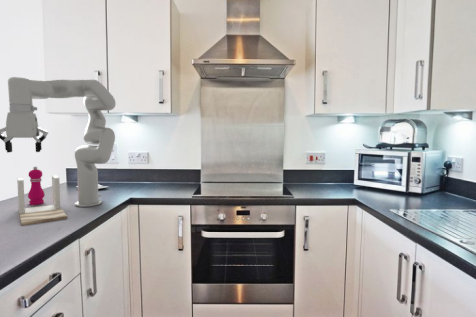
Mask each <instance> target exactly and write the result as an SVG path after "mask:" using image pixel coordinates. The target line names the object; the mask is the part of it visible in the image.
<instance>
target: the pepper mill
mask: <svg viewBox="0 0 476 317" xmlns="http://www.w3.org/2000/svg"><path fill="white" fill-rule="evenodd" d="M28 178H30V179H29V182H30V184H31V186H30V189H29V192H28V194H27V198H28V199H29V201H28V202H29V203H28V204H29V205H30V206H38V205H42V204H44V202H45V200H44V197H45V190H44V189H43V187H42V185H41V182H42V178H43V172H42V170H40V169H38V167H37V166H33V168H32V169H31V170H30V171H29V172H28Z"/></svg>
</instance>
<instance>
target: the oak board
mask: <svg viewBox="0 0 476 317" xmlns="http://www.w3.org/2000/svg"><path fill="white" fill-rule="evenodd" d="M19 219H20V224H21V226H26V225H32V224H33V225H34V224H40V223H45V222H46V223H47V222H53V221H58V220H59V221H60V220H66V219H68V215H67V214H66V213H65V211H64V210H63V209H62V208H60V209H53V210H45V211H37V212H30V213H22V214H20V215H19Z"/></svg>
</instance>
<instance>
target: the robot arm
mask: <svg viewBox="0 0 476 317" xmlns="http://www.w3.org/2000/svg"><path fill="white" fill-rule="evenodd" d="M7 91H8V105H9V106H8V109H9V111H8V112H7V115H6V120H5V121H6V122H5V127H2V128H0V139H1V141H3V142H4V146H5V147H4V149H5V151H6V153H12V152H13V143H12V140H13V139H15V138H16V139H19V138H20V139H21V138H25V139H26V138H27V139H29V138H31V139H32V138H33V140H35V152H36V153H40V152H41V151H42V149H43V148H42V143H43V141H44V140H45V139H46V138H47V136H48V135H49V131H47V130H45V129H42V128H41V127H39V121H38V116H37V114H36V113H35V111H38V107H37V106H34V102H33V100H46V99H47V100H48V99H72V98H83V105H84V107H85V109H86V111H87V114H88V120H87V121H88V123H87V125H86V127H85V130H84V135H83V141H84V142H85V143H86V144H87V145H81V146H78V147H77V148H76V149H75V151H74V158H75V163H76V167H77V168H76V171H77V199H78V200H77V201H76V202H74V206H75V207H80V208H81V207H82V208H85V207H96V206H98V205H101V204H102V200H100V199H99V198H101V197H102V194H101V193H99V177H98V176H99V172H98V168H97V166H96V165H104V164H105V165H106V164H107V163H108V162H109V160H110V158H111V156H112V152H113V148H114V146H115V141H116V134H115V131H114V130H113V129H112V128H110V127H108V126H107V127H106V124H107V120H106V116H104V114H103V112H102V111H112V110H114V109H115V107H116V104H117V103H116V100H115V97H114V95H112V93H111V92H110V91H109V90H108V89H107V87H105V85H103V84H102V83H101V82H100V81H99V80H96V79H54V80H52V79H51V80H35V79H29V78H25V77H19V76H18V77H17V76H12V77H9V78H8V79H7ZM4 132H5V134H6V136H5V135H4V134H3V133H4ZM40 133H42V135H41V136H40ZM88 144H89V145H88Z"/></svg>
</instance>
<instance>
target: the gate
mask: <svg viewBox="0 0 476 317" xmlns="http://www.w3.org/2000/svg"><path fill="white" fill-rule="evenodd" d="M16 181H17V201H18V202H17V203H18V206H17V207H18V214H19V216H20V214H22V213H30V212H37V211H45V210H53V209H61V193H60V192H61V188H60V187H61V186H60V185H61V184H60V177H59V176H58V175H57V174H55V175H51V189H52V190H51V192H52V195H51V196H52V204H50V205H42V206H34V207H25V203H26V202H25V182H24V178H23V177H17V178H16Z"/></svg>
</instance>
